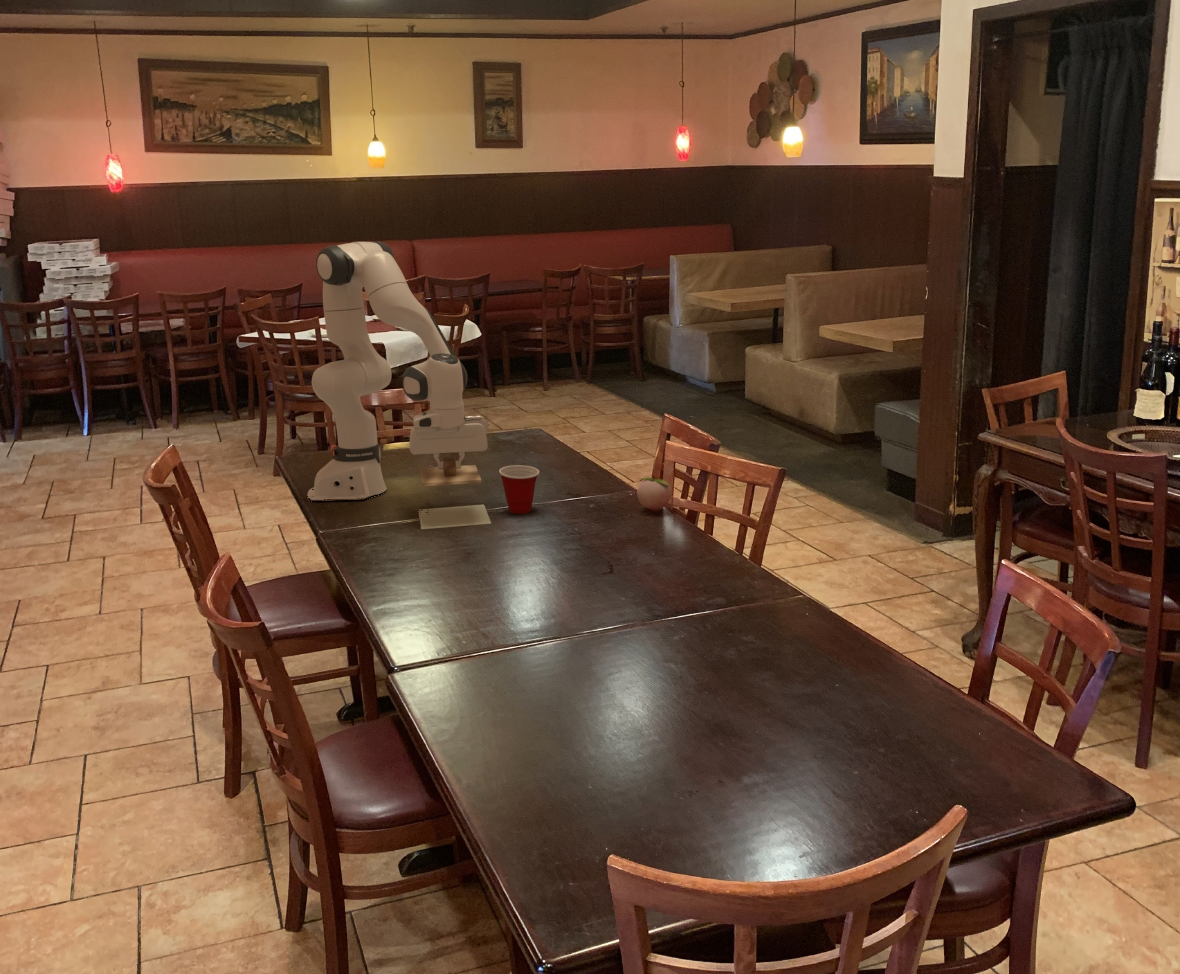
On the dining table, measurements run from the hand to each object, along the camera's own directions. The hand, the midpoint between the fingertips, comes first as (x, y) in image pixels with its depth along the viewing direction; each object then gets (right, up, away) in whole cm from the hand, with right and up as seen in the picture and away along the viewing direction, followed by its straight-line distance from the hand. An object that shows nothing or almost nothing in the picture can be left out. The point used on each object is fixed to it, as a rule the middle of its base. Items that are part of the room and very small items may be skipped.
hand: (449, 468), depth 291 cm
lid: (0, -2, +1) cm, 2 cm away
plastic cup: (+18, -12, +7) cm, 23 cm away
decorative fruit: (+54, -12, +4) cm, 55 cm away
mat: (+1, -13, +3) cm, 14 cm away
